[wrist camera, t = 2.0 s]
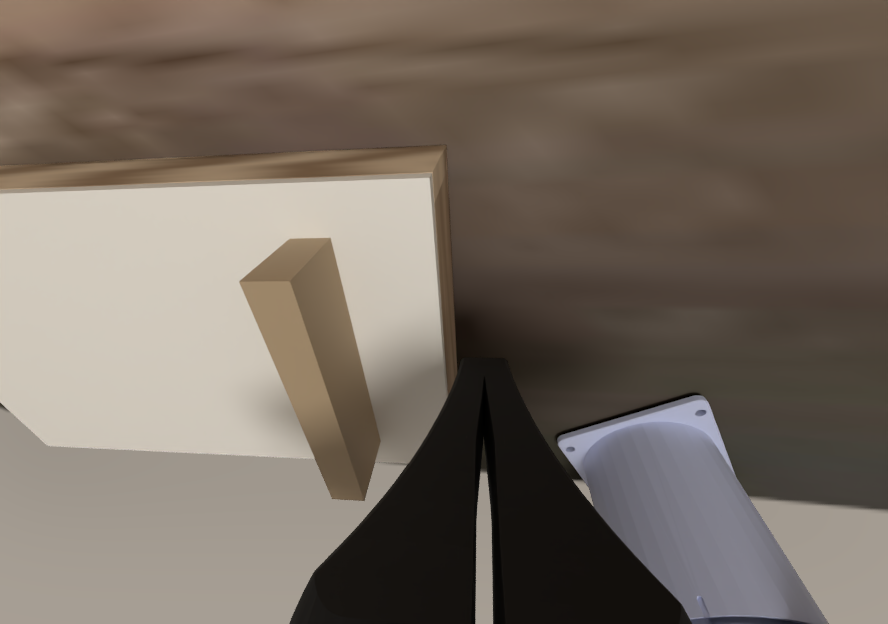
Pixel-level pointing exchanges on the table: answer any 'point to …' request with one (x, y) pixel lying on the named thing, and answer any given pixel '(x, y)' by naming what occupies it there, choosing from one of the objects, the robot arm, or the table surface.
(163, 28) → the table surface
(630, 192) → the table surface
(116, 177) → the mailer box
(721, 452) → the robot arm
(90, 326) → the mailer lid
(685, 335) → the table surface
